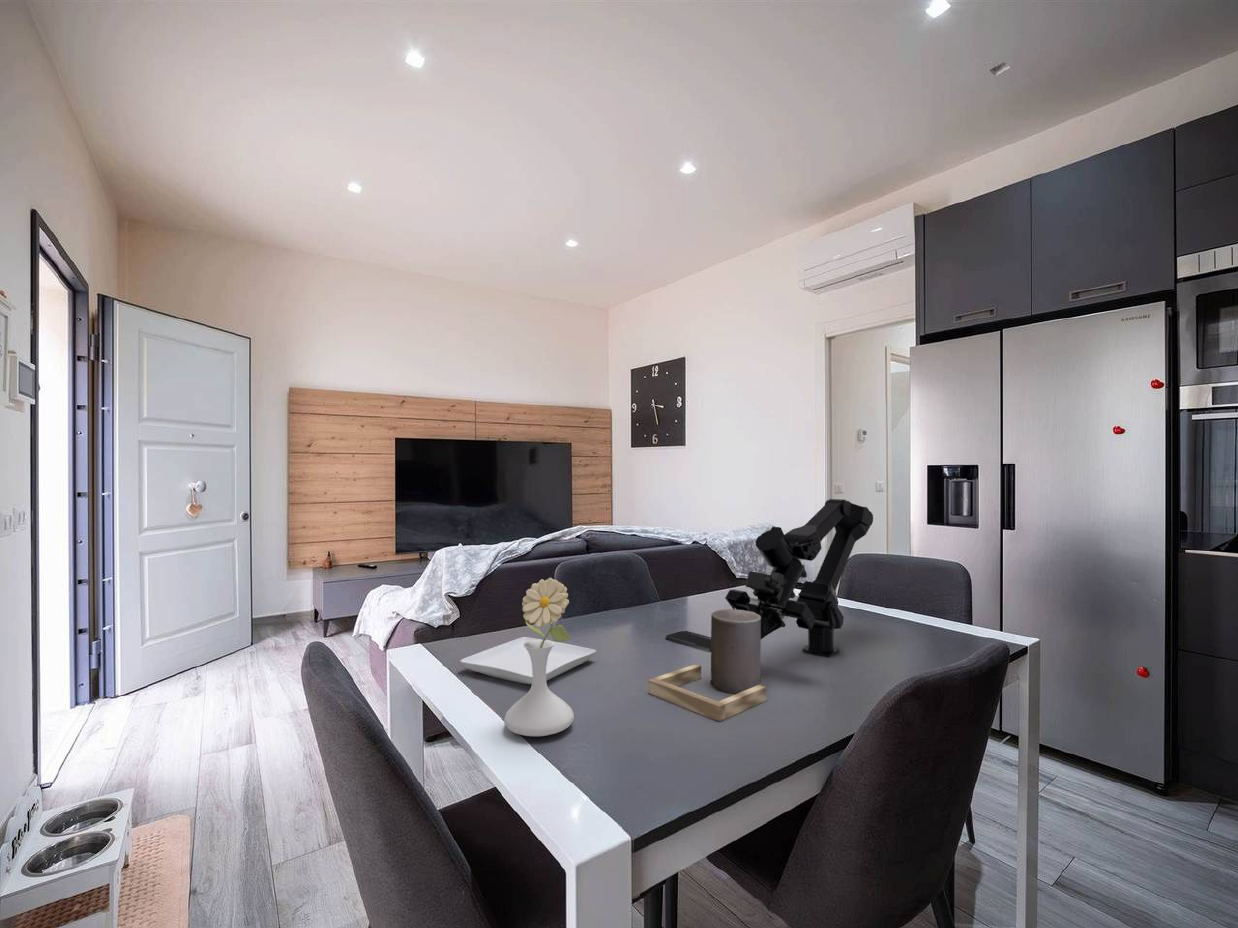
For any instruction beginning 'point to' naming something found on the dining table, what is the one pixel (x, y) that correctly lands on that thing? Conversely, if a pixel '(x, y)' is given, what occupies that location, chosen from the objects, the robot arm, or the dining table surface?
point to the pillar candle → (735, 650)
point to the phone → (691, 640)
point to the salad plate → (525, 660)
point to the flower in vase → (541, 665)
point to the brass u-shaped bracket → (718, 711)
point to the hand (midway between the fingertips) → (751, 642)
